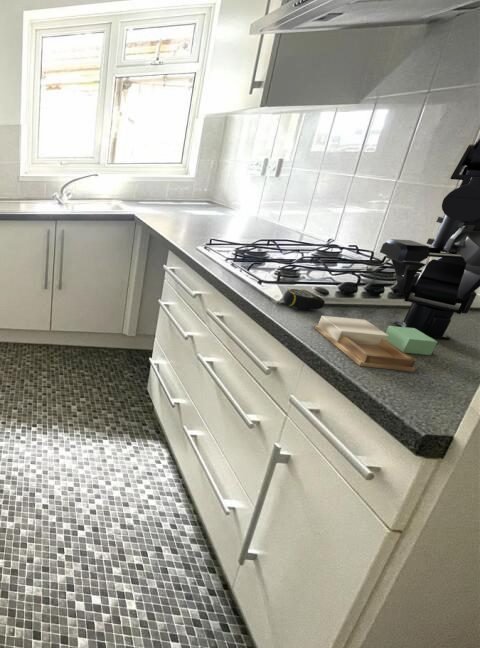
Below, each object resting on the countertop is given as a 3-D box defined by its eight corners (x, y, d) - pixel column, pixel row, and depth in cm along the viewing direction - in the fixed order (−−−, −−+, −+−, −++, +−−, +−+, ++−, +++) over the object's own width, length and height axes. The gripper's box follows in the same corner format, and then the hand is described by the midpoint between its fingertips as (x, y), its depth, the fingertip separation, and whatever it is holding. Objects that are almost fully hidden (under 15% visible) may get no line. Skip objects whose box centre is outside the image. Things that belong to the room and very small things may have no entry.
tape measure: (322, 313, 98) (328, 298, 97) (292, 312, 99) (298, 297, 97) (303, 302, 105) (308, 288, 103) (275, 301, 105) (279, 287, 104)
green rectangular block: (382, 338, 87) (388, 325, 86) (408, 341, 86) (414, 328, 85) (402, 352, 81) (409, 339, 80) (430, 355, 80) (437, 341, 79)
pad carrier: (314, 328, 91) (319, 315, 90) (359, 332, 89) (365, 319, 88) (359, 365, 77) (366, 350, 75) (414, 371, 75) (421, 356, 74)
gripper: (442, 220, 68) (402, 308, 74) (589, 227, 64) (534, 319, 70) (395, 208, 78) (363, 286, 84) (520, 214, 74) (476, 295, 80)
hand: (430, 296), depth 79 cm, fingers open, 9 cm apart
